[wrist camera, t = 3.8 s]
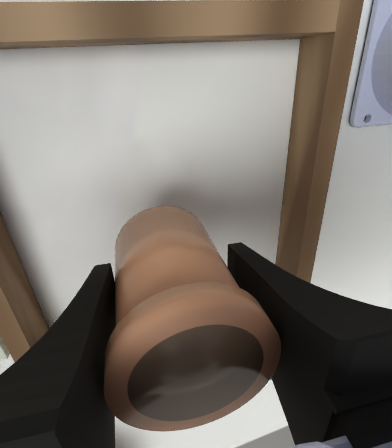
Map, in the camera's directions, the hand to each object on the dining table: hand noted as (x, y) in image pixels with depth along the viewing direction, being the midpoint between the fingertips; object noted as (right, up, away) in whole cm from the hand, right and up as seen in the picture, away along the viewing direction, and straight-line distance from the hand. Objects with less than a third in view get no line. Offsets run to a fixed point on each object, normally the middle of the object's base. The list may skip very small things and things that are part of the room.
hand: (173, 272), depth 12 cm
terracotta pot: (-1, +1, +2) cm, 2 cm away
